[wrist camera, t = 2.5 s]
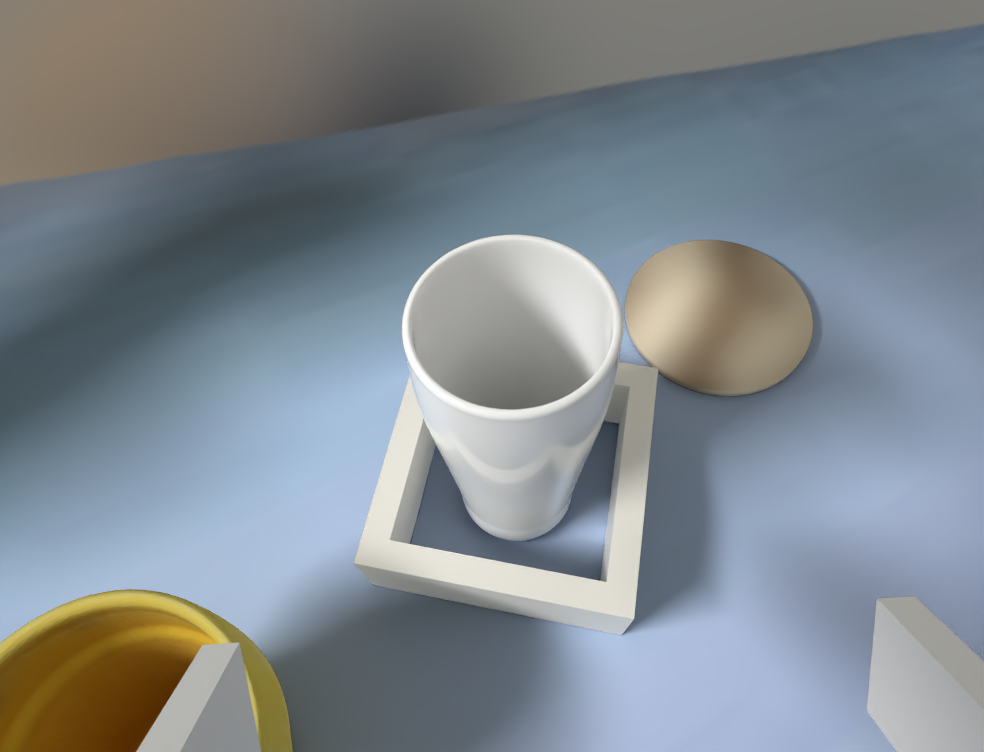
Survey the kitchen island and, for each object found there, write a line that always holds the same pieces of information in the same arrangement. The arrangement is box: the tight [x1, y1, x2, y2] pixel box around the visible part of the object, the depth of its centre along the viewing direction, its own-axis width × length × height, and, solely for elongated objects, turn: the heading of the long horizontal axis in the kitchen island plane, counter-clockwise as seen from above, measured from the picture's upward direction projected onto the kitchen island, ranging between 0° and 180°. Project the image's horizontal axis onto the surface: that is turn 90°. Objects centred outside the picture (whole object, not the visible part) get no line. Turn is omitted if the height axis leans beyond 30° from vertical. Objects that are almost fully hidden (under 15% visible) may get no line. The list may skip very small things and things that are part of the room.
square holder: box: [354, 362, 658, 635], centre depth 31 cm, size 11×11×4 cm
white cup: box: [402, 235, 623, 541], centre depth 27 cm, size 7×7×15 cm
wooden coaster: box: [624, 240, 813, 396], centre depth 37 cm, size 10×10×1 cm
